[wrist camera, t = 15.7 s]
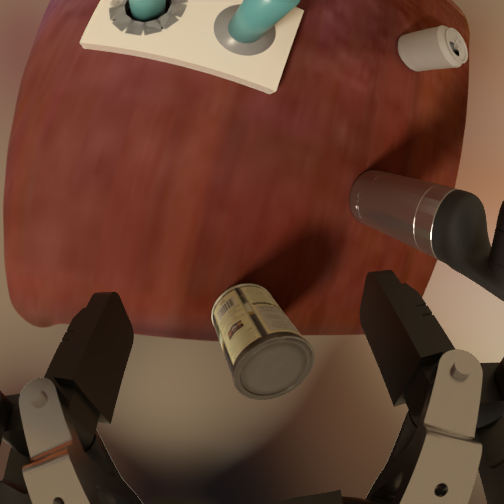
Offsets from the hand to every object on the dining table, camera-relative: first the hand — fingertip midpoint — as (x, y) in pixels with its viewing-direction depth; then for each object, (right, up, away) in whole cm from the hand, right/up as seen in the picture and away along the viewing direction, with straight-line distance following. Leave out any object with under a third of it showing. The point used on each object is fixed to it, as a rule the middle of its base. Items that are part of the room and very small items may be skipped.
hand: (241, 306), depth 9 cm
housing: (-7, +32, +20) cm, 38 cm away
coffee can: (-1, -8, +37) cm, 37 cm away
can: (+29, +38, +29) cm, 56 cm away
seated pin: (-1, +30, +22) cm, 38 cm away
